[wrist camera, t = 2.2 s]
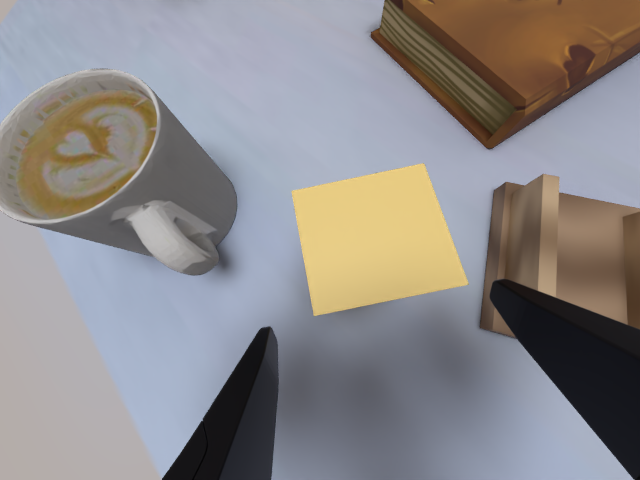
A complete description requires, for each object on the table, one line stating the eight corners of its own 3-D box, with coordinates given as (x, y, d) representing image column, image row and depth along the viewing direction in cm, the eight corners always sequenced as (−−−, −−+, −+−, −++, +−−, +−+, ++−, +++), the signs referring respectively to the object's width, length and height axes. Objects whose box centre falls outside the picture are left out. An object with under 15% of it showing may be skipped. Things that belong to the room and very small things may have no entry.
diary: (485, 155, 22) (534, 106, 17) (369, 43, 27) (378, -24, 22) (654, 44, 24) (748, -33, 19) (519, -42, 29) (561, -124, 24)
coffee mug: (124, 193, 23) (-26, 114, 14) (215, 148, 24) (133, 43, 14) (164, 317, 20) (-1, 330, 10) (269, 260, 20) (210, 221, 11)
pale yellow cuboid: (387, 296, 19) (468, 284, 7) (327, 308, 19) (314, 316, 7) (373, 244, 20) (423, 163, 9) (316, 255, 20) (291, 190, 9)
